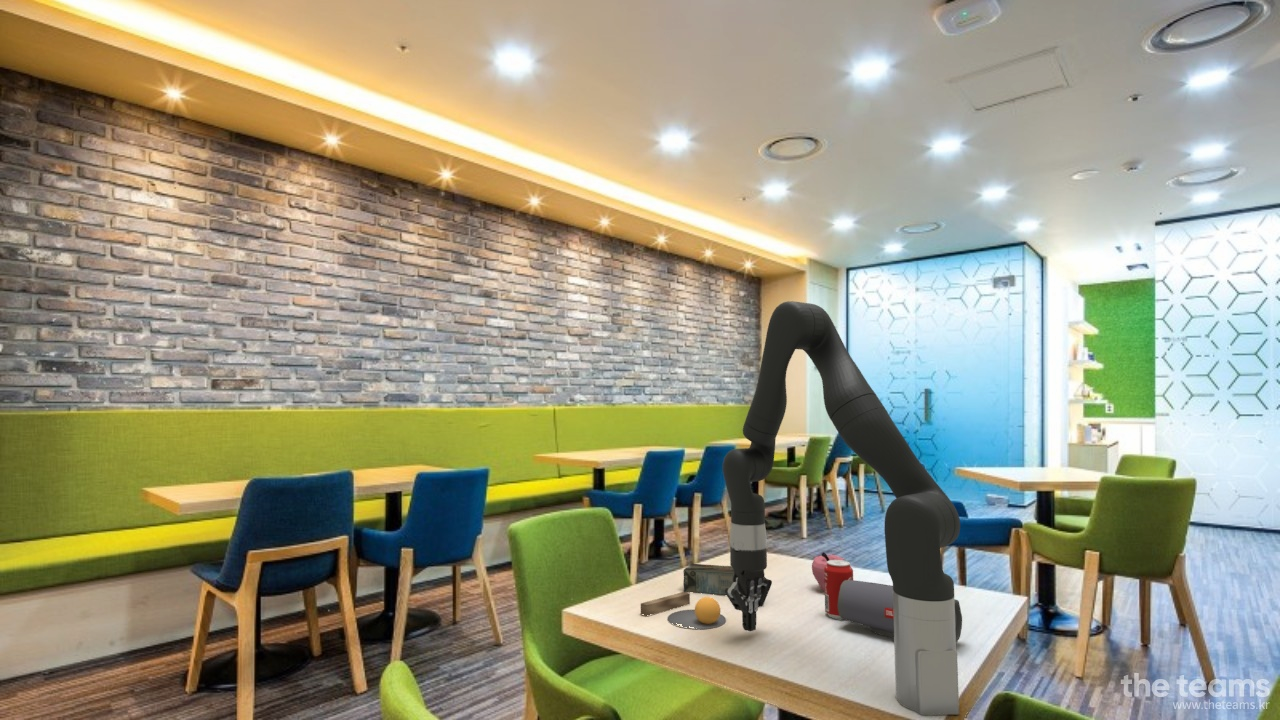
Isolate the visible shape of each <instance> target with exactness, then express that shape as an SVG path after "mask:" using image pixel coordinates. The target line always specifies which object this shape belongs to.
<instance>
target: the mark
mask: <svg viewBox="0 0 1280 720" xmlns="http://www.w3.org/2000/svg"><path fill="white" fill-rule="evenodd" d="M667 621H669V622H670V623H673V624H674V625H677V624H682V626H683V627H687V628H689V626H690V627H694V628H695V629H694V630H698V629H700V630H710V629H715V628H719V627H721V626H723V625H725V624H726V623H727V618H726V617H725V616H724V615H723V614H721V613H720V616H719V618H718V620H717V621H716V622H714V623H712V624H704V623H702V622H700V621H699V620H698V618H697V617H696V615H695V609H683V610H677V611H674V612H672V613H670V614H669V615H668V616H667ZM669 622H668V623H669ZM670 623H669V624H670ZM676 623H677V624H676ZM674 625H673V626H674ZM679 626H680V625H679ZM696 628H697V629H696Z"/></svg>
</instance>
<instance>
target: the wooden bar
mask: <svg viewBox="0 0 1280 720" xmlns="http://www.w3.org/2000/svg"><path fill="white" fill-rule="evenodd" d="M690 597H691V593H690V592H684V591H682V592H679V593H674V594H670V595H667V596H663V597H659V598H657V599H652V600H649V601H648V600H647V601H645V602H644V601H643V602H641V603H640V615H641V614H644V615H646V616H647V615H650V614H654V613H658V614H660V613H659V612H661V613H664V612H667V611H666V610H668V611H671V610H674V609H673V608H675V609H678V608H681V606H682V607H685V606H688V605H691V598H690ZM684 605H685V606H684ZM677 607H678V608H677ZM670 609H671V610H670ZM663 611H664V612H663ZM654 615H655V614H654ZM646 616H645V617H646ZM647 617H648V616H647Z"/></svg>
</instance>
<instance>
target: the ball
mask: <svg viewBox="0 0 1280 720" xmlns="http://www.w3.org/2000/svg"><path fill="white" fill-rule="evenodd" d="M694 610H695V615H696V617H697V618H698V620H699V621H700V622H702V623H704V624H712V623H714V622H716V621H717V620H718V618H719V616H720V614H721V607H720V604H719V602H718V601H717V600H716V599H715V598H713V597H710V596H704V597H702V598H700V599H698V601H697V602H696V603H695V607H694Z"/></svg>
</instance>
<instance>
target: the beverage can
mask: <svg viewBox="0 0 1280 720" xmlns="http://www.w3.org/2000/svg"><path fill="white" fill-rule="evenodd" d="M845 580H854V569H853V568H852V566H851V562H849V561H846V560H844V561H843V560H829V561H827V565H826V566H825V567H824V586H825V591H824V611H825V613H826V614H827V615H828V617H829V616H830V618H831V617H832V618H831V619H834V618H836V619H835V620H839V619H842V618H841V617H840V615H839V612H838V607H837V604H838V597H839V591H840V587H841V584H842V583H843V581H845ZM844 621H845V619H844Z"/></svg>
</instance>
